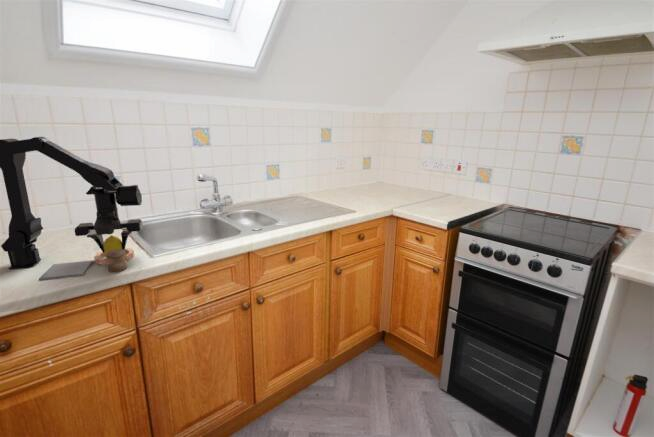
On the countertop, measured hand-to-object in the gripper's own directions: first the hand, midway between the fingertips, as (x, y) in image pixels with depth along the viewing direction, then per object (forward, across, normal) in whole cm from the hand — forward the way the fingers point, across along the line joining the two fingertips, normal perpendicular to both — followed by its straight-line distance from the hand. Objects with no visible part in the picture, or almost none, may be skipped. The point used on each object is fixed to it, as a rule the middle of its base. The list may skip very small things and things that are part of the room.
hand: (114, 251), depth 120 cm
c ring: (+2, 0, 0) cm, 2 cm away
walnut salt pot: (+2, +3, -11) cm, 12 cm away
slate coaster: (+2, -12, -8) cm, 14 cm away
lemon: (+2, 0, 0) cm, 2 cm away
